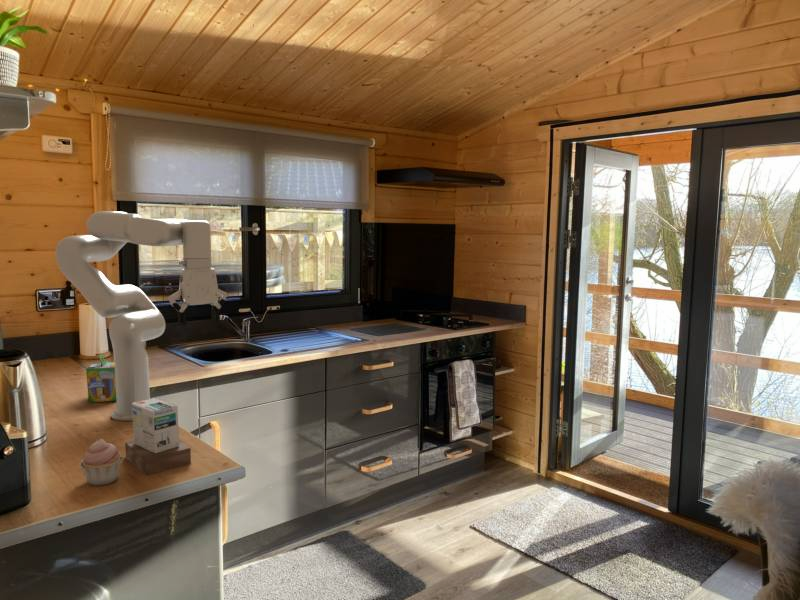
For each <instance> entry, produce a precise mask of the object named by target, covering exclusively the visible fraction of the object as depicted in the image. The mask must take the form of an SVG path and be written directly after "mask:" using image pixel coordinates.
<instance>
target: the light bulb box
mask: <svg viewBox="0 0 800 600" xmlns="http://www.w3.org/2000/svg"><path fill="white" fill-rule="evenodd" d="M178 412H179V410H178V405H176V404H173V403H170V402H167V401H163V400H161V399H158V398H156V397H153V398H150V399H148V400H144V401H139V402H134V403H132V416H133V420H132V431H133V436H132V437H133V441H134V444H136V445H138V446H140V447H143V448H145V449H147V450H149V451H151V452H153V453H159V452H162V451H166V450H169V449H172V448H175V447H179V441H180V436H179V432H180V431H179V415H178Z"/></svg>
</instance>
